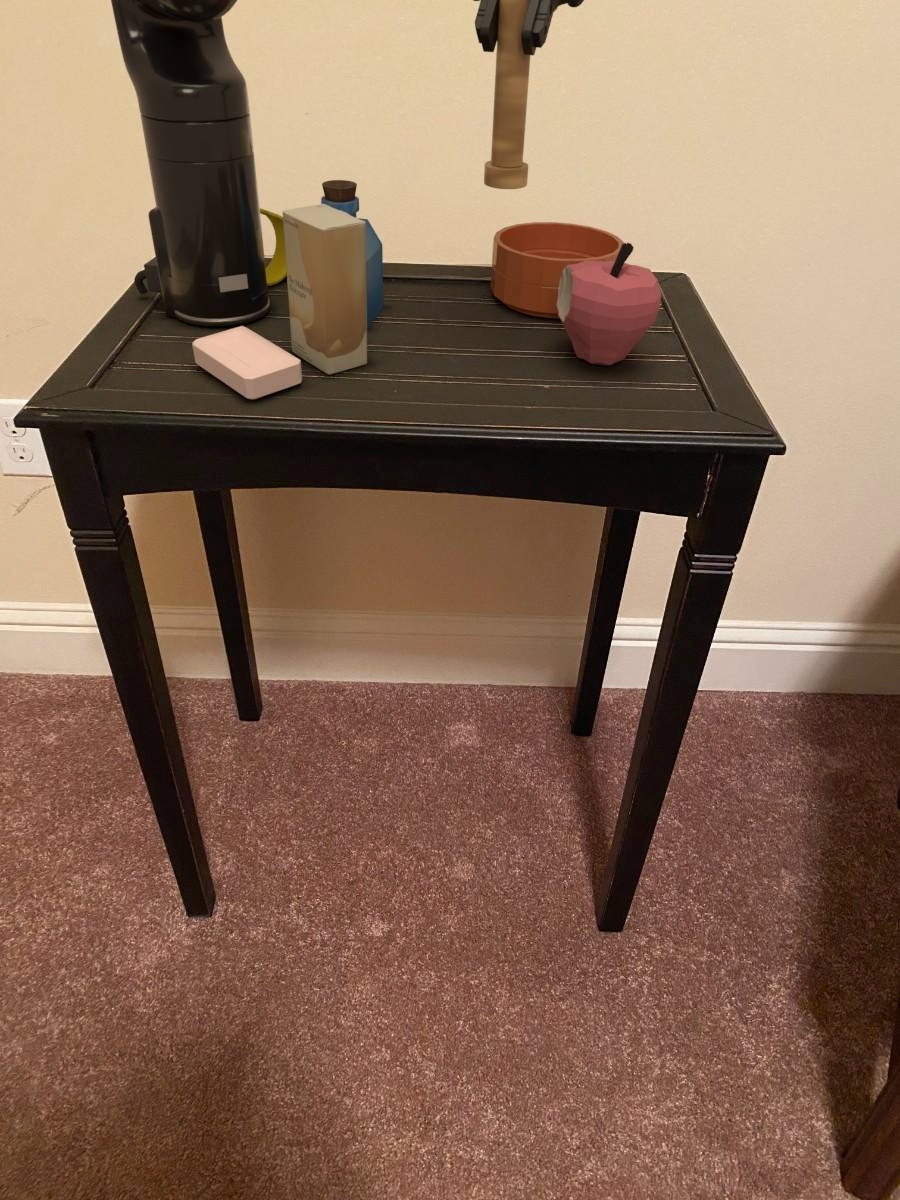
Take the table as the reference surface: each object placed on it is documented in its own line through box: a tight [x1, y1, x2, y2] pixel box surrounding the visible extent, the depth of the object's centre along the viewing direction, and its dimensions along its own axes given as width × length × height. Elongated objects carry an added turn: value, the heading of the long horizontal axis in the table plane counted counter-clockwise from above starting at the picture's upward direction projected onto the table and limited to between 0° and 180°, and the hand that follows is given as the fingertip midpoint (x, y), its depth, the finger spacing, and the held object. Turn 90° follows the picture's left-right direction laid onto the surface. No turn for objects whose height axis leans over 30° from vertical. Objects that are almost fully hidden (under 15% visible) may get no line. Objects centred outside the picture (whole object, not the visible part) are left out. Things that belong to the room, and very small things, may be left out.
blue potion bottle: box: [320, 179, 384, 329], centre depth 81 cm, size 6×6×12 cm
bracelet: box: [259, 207, 287, 287], centre depth 89 cm, size 7×8×3 cm
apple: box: [557, 242, 662, 367], centre depth 75 cm, size 10×9×10 cm
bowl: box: [490, 221, 625, 319], centre depth 88 cm, size 13×13×6 cm
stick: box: [483, 0, 531, 190], centre depth 66 cm, size 4×4×14 cm
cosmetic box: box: [281, 203, 368, 376], centre depth 72 cm, size 6×4×12 cm
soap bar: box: [191, 325, 303, 401], centre depth 72 cm, size 5×9×2 cm, turn 42°
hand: (507, 44), depth 63 cm, fingers closed on stick, 2 cm apart
